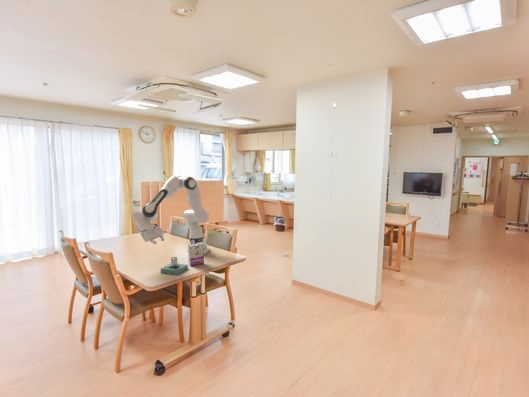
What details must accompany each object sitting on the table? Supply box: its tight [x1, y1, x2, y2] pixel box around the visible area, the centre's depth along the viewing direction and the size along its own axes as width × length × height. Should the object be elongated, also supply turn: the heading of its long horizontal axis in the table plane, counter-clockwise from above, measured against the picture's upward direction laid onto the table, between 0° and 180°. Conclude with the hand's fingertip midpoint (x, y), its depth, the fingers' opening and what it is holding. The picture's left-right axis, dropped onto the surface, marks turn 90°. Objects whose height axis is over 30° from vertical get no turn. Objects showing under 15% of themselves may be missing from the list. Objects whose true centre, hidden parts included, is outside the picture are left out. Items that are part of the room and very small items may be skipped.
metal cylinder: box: [170, 256, 178, 269], centre depth 222 cm, size 4×4×10 cm
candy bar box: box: [187, 243, 205, 267], centre depth 237 cm, size 11×5×16 cm, turn 126°
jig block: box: [160, 263, 189, 276], centre depth 223 cm, size 14×14×3 cm
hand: (159, 242), depth 227 cm, fingers open, 8 cm apart
